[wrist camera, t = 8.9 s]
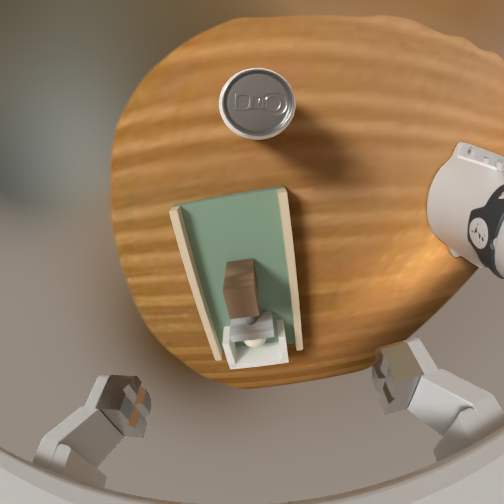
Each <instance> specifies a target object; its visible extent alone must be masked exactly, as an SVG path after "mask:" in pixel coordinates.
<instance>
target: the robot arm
mask: <svg viewBox="0 0 504 504" xmlns="http://www.w3.org/2000/svg"><path fill="white" fill-rule="evenodd" d="M468 150H469V153H468ZM427 215H428V221H429V225H430V227H431V230H432V231H433V233H434V235H435V236H436V237H437V238H438V239H439V240H441V241H442V242H444V243H445V244H446V245H447V248H448V250H449V252H450V254H451V255H452V256H454V257H459V256H463V257H464V258H466V259H467V260H469V261H470V262H472V263H473V264H475V265H476V266H478V267H479V268H484V267H486V268H487V269H488V270H489V271H490V272H491V273H493V274H494V275H496V276H498V277H499V278H501V279H504V157H503V156H501V155H498V154H496V153H493V152H491V151H488V150H485V149H483V148H480V147H477V146H474V145H471V144H469V143H466V142H459V143H458V144H457V146H456V148H455V150H454V152H453V155H452V157H451V158H450V159H449V160H448V161H447V162H446V163H445V164H444V165H443V166H442V167H441V168H440V170H439V171H438V173H437V174H436V176H435V178H434V180H433V182H432V185H431V187H430V191H429V195H428V202H427ZM375 358H376V360H377V361H376V362H375V363H374V364H373V368H372V379H373V382H374V386H375V388H376V390H377V391H379V392H380V393H381V397H380V402H381V405H382V407H383V410H384V412H385V414H389V413H392V412H396V411H400V410H403V409H406V408H408V410H409V411H410V412H412V413H413V414H414V415H416V416H417V417H418V418H420V419H421V420H422V421H424V422H425V423H426V424H427V425H429V426H430V427H431V428H433V429H434V430H435V431H436V432H438V433H439V434H440V435H442V436H443V437H442V438H441V439H440V441H439V442H438V443H437V445H436V446H435V448H434V449H433V451H434V454H435V457H436V460H437V462H436V463H434V464H431V465H429V466H426V467H424V468H422V469H419V470H417V471H414V472H411V473H409V474H406V475H403V476H401V477H398V478H395V479H392V480H388V481H385V482H382V483H379V484H375V485H372V486H368V487H365V488H361V489H357V490H353V491H349V492H345V493H340V494H335V495H330V496H325V497H320V498H313V499H307V500H299V501H292V502H283V503H272V504H504V413H503V411H502V410H501V408H500V406H499V404H498V403H497V401H496V399H495V398H494V396H493V394H490V393H489V392H487V391H485V390H483V389H481V388H479V387H477V386H475V385H473V384H471V383H469V382H467V381H465V380H463V379H461V378H459V377H458V376H456V375H454V374H452V373H450V372H448V371H446V370H444V369H438V368H437V366H436V364H435V363H434V361H433V360H432V358H431V356H430V355H429V353H428V351H427V350H426V348H425V347H424V345H423V343H422V342H421V340H420V339H419V338H418V337H415V338H412V339H408V340H405V341H401V342H397V343H393V344H390V345H386V346H382V347H379V348H377V349H376V351H375ZM140 385H141V381H140V380H139V378H138V377H137V376H123V375H107V374H101V375H100V376H98V378H97V380H96V382H95V384H94V386H93V389H92V391H91V393H90V395H89V398H88V400H87V402H86V405H85V407H83V406H82V407H80V408H79V409H78V410H76V411H75V412H74V413H73V414H71V415H70V416H69V417H68V418H66V419H65V420H64V421H63V422H61V423H60V424H59V425H57V426H56V427H55V428H54V429H52V430H51V431H50V432H49V433H47V434H46V435H45V436H44V437H43V438H42V440H41V443H40V445H39V448H38V450H37V452H36V455H35V457H34V460H33V462H30V461H27V460H25V459H23V458H21V457H19V456H17V455H15V454H13V453H11V452H9V451H7V450H6V449H4V448H2V447H0V504H194V503H182V502H174V501H166V500H158V499H152V498H146V497H141V496H135V495H131V494H125V493H121V492H117V491H113V490H108V489H105V488H104V486H105V482H106V476H105V474H103V473H102V472H101V471H99V470H98V469H97V467H98V466H99V465H100V463H101V462H102V461H103V460H104V459H105V458H106V457H107V456H108V454H109V453H110V452H111V451H112V450H113V449H114V448H115V447H116V445H117V444H118V443H119V442H120V441H121V440H122V439H123V438H124V436H131V437H144V433H145V429H146V425H147V422H146V420H145V417H146V416H147V415H148V414H149V413H150V410H151V399H150V395H149V393H148V392H147V390H146V389H144V388H143V387H141V386H140ZM270 504H271V503H270Z"/></svg>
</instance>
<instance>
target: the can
mask: <svg viewBox="0 0 504 504" xmlns="http://www.w3.org/2000/svg"><path fill="white" fill-rule="evenodd" d="M295 108H296V100H295V95H294V92H293V90H292V88H291V86H290V85H289V83H288V82H287V81H286V80H285V79H284V78H283V77H282V76H281V75H279V74H277V73H276V72H274V71H271V70H268V69H263V68H251V69H246V70H243V71H241V72H239V73H237V74H235V75H234V76H233V77H231V78H230V79H229V80H228V81H227V83H226V84H225V85H224V87H223V89H222V91H221V94H220V99H219V109H220V113H221V116H222V119H223V120H224V122H225V124H226V125H227V126H228V127H229V128H230V129H231V130H232V131H233V132H234V133H236V134H238V135H239V136H242V137H244V138H248V139H253V140H262V139H268V138H271V137H273V136H276V135H278V134H279V133H281V132H282V131H283V130H284V129H285V128H286V127H287V126H288V125H289V124H290V122H291V120H292V118H293V116H294V113H295Z"/></svg>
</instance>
